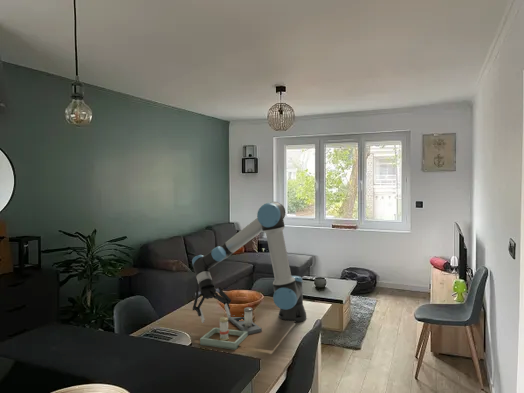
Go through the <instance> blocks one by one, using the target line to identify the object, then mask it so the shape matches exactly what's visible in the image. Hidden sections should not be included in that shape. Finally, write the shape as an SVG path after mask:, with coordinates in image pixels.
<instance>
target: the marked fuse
mask: <svg viewBox="0 0 524 393" xmlns="http://www.w3.org/2000/svg"><path fill="white" fill-rule="evenodd" d="M219 328H220V333H219V340H222V341H229V339H230V338H229V335H230V334H228V333H229V330H228V329H229V320H228V317H227V316H221V317H219Z"/></svg>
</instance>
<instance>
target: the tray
mask: <svg viewBox="0 0 524 393" xmlns="http://www.w3.org/2000/svg"><path fill="white" fill-rule="evenodd" d="M228 330H229V333H228V335H231V336H238V338H237V339H236V340H235V341H229V340H227V341H222V340H220V339H215V338H213V339H212V338H210V337H212V336H213V335H214V334H216V333H217V334H220V327H213V328H212V329H210V331H208V332H206V333H205V334H204V335H203V336H201V337H200V338H199V341H200V343H199V344H200V346H206V347H214V348H220V349H228V350H233V351H237V349H238V348H239V347H240V344H241V343H242V342H243V341H244V340H245V339H246V338H247V337H248V335H249V334H248V332H247V331H242V330H240V329H239V330H237V329H229V328H228Z"/></svg>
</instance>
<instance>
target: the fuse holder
mask: <svg viewBox="0 0 524 393" xmlns="http://www.w3.org/2000/svg"><path fill="white" fill-rule="evenodd" d="M231 316H232V315H230V317H229V318H228V317H227V318H228V322H231V323H232V324H233V325H234V326H236V327H237V329H239V331H247V332H248V335H252V334H257V333H261V332H262V331H263V329H262V327H261V326H259V325H258V324H256V323H255V322H253V321H252V326H253V327H249V328H245V327H244V321H239V320H241V319H243V320H244V317H231Z"/></svg>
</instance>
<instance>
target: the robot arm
mask: <svg viewBox="0 0 524 393" xmlns="http://www.w3.org/2000/svg"><path fill="white" fill-rule="evenodd" d="M256 215H257V216H256V218H255V219H254V220H252V221H251V222H250V223H249V224H247V225H246V226H245V227H243V228H242V229H241V230H240V231H238V232H237V233H235V234H234V235H233V236H232V237H230V238H229V239H228V240H226V241H225V242H224V243H223V244H221V245H220V246H219V245H218V246H216V247H214V248H213V249H211V250H210V251H209V252H207V253H206V254H205V255H202V254H199V255H196V256H194V257H192V260H191V263H192V268H193V271H194V273H195V278H196V280H197V284H198V287H199V288H198V289H199V291H198V290H196V291H195V292H194V302H193V306H192V311H195V312H196V313H197V316H198V317H200V320H201V323H202V324H203V323H205V321H206V319H205V316H204V313H203V308H202V307H201V306H202V305H203V302H204V301H205V299H206V300H209V299H215V300H217V301H219V302H220V303H222V304H224V306H223V307H224V309H225V312H226V317H227V318H229V317H230V316H232V315H231V311H230V310H231V307H230V304H231V302H232V299H231V298H230V297H229V296H228V295H227V293H225V292H224V291H223V290H222V288H221V286H220V287H218V288H215V285H214V284H215V283H214V282H213V278H212V275H211V272H210V269H212V268H213V267H215V266H216V265H218V264H219V263H221V262H222V261H224V260H226V259H228V258H229V257H230V256H231V255H233V254H234V253H235V252H237V251H238V250H239V249H241V248H242V247H244V246H245V245H247V243H249V242H250V241H251V240H253V238H255V237H257V236H258V235H259V234H260V233H262V232H263V233H264V234H265V236H266V239H267V240H266V241H267V245H268V250H269V256H270V260H271V261H270V262H271V265H272V266H271V267H272V271H273V276H274V280H273V282H272V286H273V292H274V293H273V297H272V298H273V300H272V301H273V303H274V304H275V306H276V307H277V308H279V311H278V318H279V319H280V320H283V321H287V322H294V323H296V324H297V323H302V322H304V321H306V320H307V312H306V309H305V307H304V301H303V298H304V296H303V292H304V291H303V282H304V281H303V278H302V277H301V276H300V275H292V273H291V267H290V262H289V257H288V252H287V246H286V243H285V242H286V241H285V236H284V231H283V230H284V229H285V227H286V226H285V221H284V219H285V217H286V209H285V206H284V205H283V204H282V203H281V202H280V201H279V202H278V201H271V202H266V203H264V204H263V205H261V206H260V208H258V210H257V213H256ZM200 295H201V296H202V298H201V300H200V301H199V303H198V299H199V297H200ZM197 304H198V305H197Z"/></svg>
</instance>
